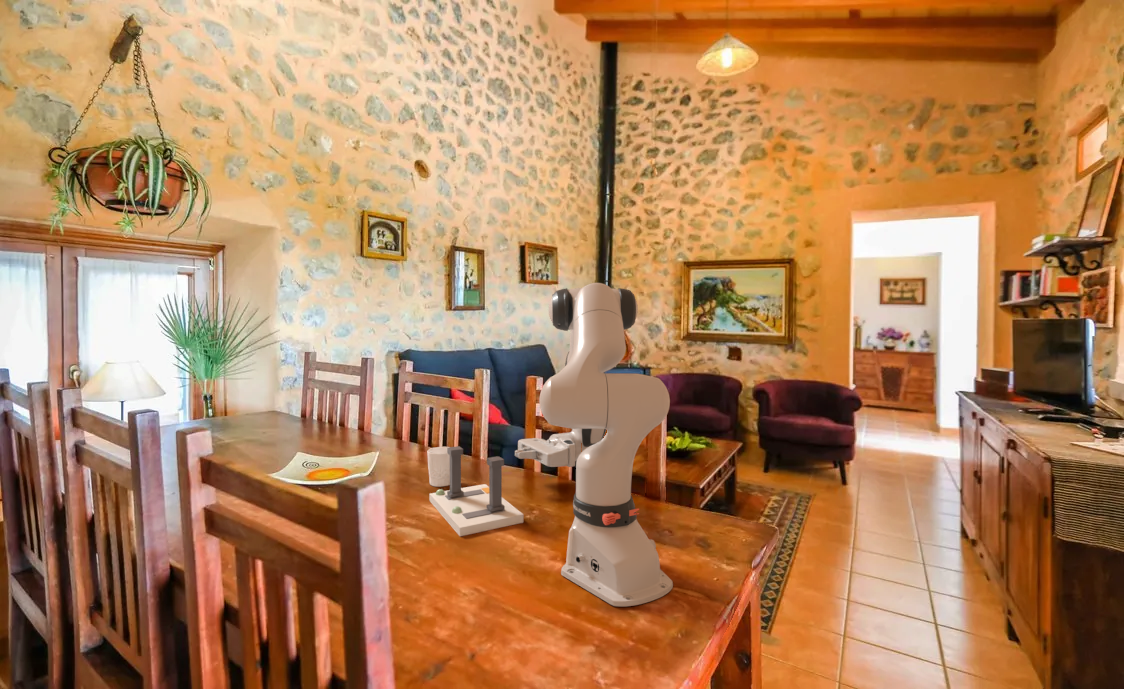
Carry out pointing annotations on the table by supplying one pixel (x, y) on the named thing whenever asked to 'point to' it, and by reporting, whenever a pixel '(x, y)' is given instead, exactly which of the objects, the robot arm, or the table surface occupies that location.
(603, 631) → the table surface
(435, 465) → the white cup
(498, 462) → the post
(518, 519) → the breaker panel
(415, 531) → the table surface
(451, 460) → the post
